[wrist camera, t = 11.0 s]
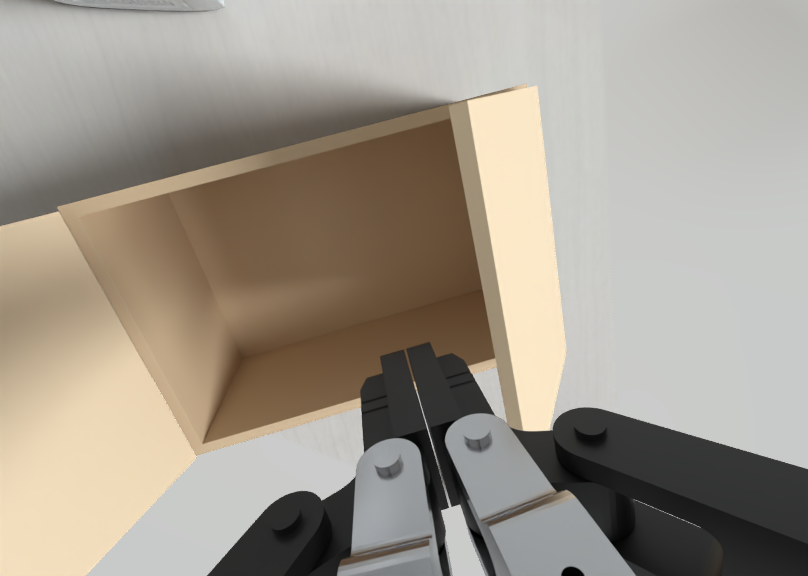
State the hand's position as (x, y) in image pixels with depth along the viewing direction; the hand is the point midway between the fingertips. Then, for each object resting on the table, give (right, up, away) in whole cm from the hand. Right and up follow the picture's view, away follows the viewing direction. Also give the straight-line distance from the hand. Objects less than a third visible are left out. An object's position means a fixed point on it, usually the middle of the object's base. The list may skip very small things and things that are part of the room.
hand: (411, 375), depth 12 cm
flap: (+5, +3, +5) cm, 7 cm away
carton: (-5, +6, +18) cm, 19 cm away
